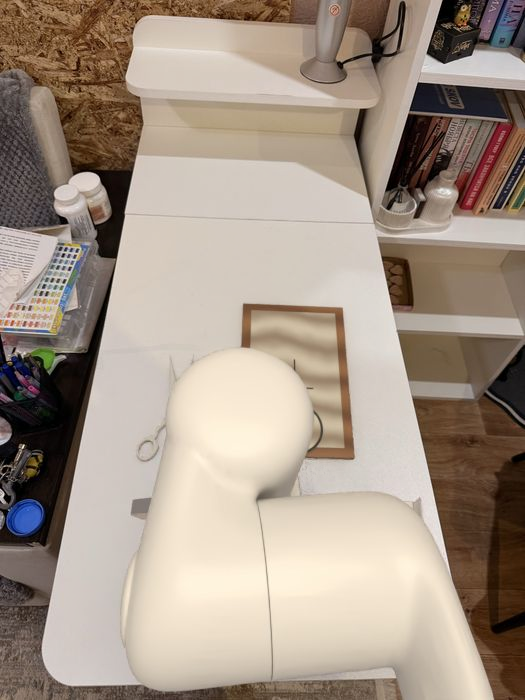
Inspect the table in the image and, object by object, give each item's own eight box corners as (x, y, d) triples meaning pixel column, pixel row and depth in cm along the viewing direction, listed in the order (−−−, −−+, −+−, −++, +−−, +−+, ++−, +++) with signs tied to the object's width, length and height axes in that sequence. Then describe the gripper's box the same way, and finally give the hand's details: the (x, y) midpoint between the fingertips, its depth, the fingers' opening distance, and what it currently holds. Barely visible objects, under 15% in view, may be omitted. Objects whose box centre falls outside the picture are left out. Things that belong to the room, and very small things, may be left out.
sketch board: (353, 459, 79) (355, 457, 78) (237, 456, 78) (237, 454, 77) (341, 309, 93) (342, 306, 92) (243, 305, 92) (243, 302, 91)
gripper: (99, 532, 33) (140, 570, 47) (368, 538, 33) (326, 574, 48) (117, 422, 36) (150, 489, 51) (358, 430, 37) (322, 493, 52)
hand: (235, 530), depth 49 cm, fingers open, 9 cm apart
